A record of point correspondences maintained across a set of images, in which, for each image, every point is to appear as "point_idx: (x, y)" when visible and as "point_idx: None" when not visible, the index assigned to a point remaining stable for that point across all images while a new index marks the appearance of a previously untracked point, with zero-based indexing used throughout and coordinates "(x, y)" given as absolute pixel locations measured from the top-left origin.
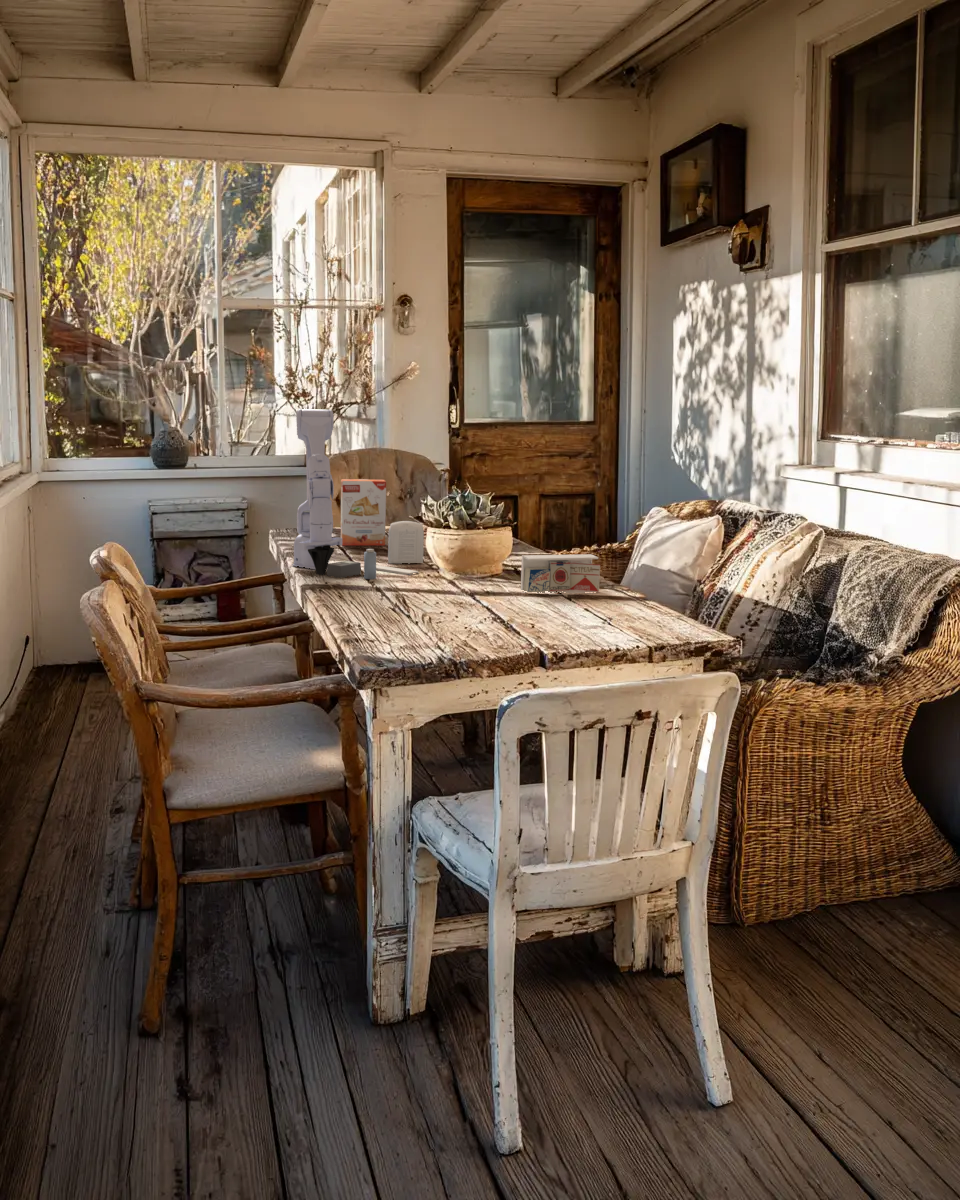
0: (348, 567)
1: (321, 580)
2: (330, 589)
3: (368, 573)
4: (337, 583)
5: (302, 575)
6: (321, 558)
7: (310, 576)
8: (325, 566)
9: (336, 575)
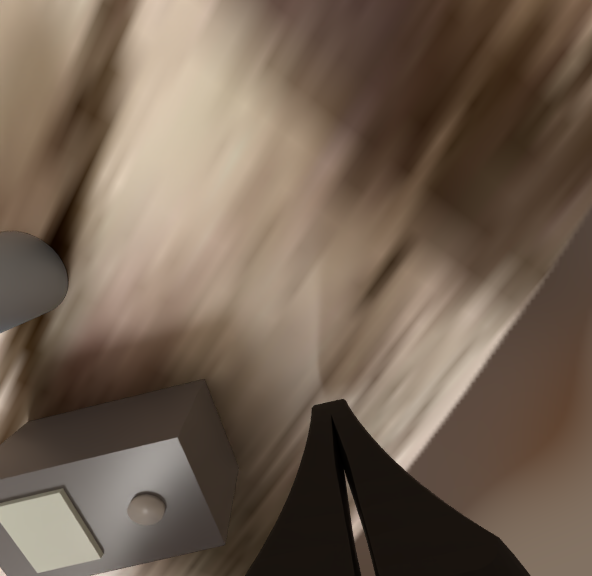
0: (100, 441)
1: (352, 365)
2: (532, 22)
3: (12, 254)
4: (333, 222)
5: None
6: (424, 487)
7: None
8: (329, 438)
9: (212, 416)
